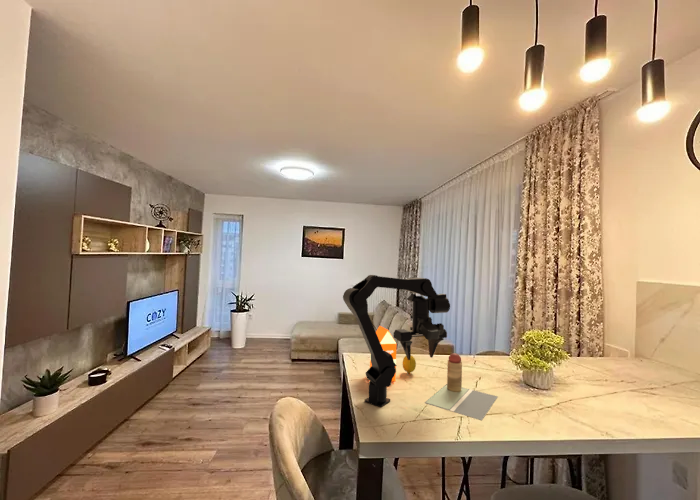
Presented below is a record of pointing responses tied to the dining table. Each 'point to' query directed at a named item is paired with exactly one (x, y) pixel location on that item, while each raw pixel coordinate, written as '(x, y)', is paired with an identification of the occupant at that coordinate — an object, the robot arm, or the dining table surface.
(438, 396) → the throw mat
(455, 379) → the red topped wooden cylinder
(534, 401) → the dining table surface
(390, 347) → the orange juice
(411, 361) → the lemon
